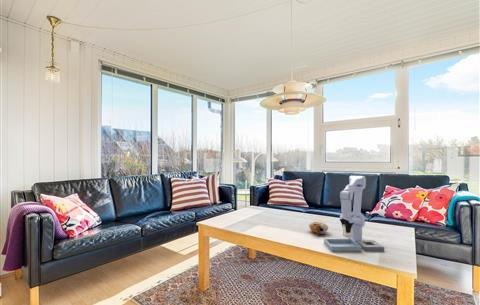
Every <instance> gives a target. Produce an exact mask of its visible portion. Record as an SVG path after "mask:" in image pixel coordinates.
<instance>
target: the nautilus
mask: <svg viewBox="0 0 480 305" xmlns="http://www.w3.org/2000/svg"><path fill="white" fill-rule="evenodd" d="M308 227H309V229H310V230H311V231H312V232H313V235H314V237H318V236H319V235H323V234H325V233H326V232H327V231H328V230H329V226H328V225H327V224H326V223H325V222H321V221H313V222H311V223H310V224H308Z"/></svg>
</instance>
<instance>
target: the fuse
mask: <svg viewBox="0 0 480 305" xmlns="http://www.w3.org/2000/svg"><path fill="white" fill-rule="evenodd" d="M342 236H343V237H345V238H349V237H352V227H351V231H350V233H346V228H345V224H343V227H342Z"/></svg>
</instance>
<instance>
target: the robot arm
mask: <svg viewBox="0 0 480 305" xmlns="http://www.w3.org/2000/svg"><path fill="white" fill-rule="evenodd" d="M348 181H349V184H347V185H345V188H343V190H342V191H340V192H339V198H340V204H341V208H340V209H341V213H340V214H339V222H340V223H341V226H342V228H343V224H345V228H346V233H350V231H351V227H352V237H348V239H352V240H353V241H355V240H365V239H364V238H363V228H364V227H365V225H366V220H365V219H366V218H365V215H364V214H363V213H362V212H361V211H362V210H361V208H362V198H363V190H364V189H366V185H367V178H366V176H364V175H350V176H349V177H348ZM353 196H354V197H353ZM353 198H354V199H353ZM352 201H353V209H352Z"/></svg>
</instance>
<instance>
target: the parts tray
mask: <svg viewBox="0 0 480 305" xmlns="http://www.w3.org/2000/svg"><path fill="white" fill-rule="evenodd" d="M323 244H324V245H325V246H326V247H327V248H328V250H330V252H333V253H335V252H342V253H343V252H344V253H345V252H348V253H349V252H354V253H356V252H358V253H359V252H360V253H362V251H363V250H362V247H361V246H360V245H359V244H357V243H356V242H355V241H353V240H352V239H350V238H323Z"/></svg>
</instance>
